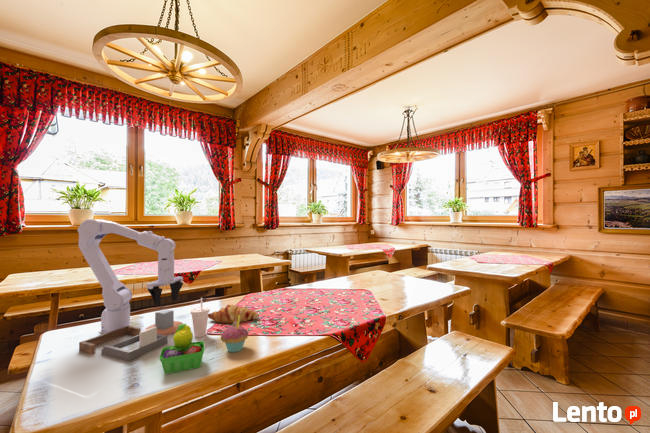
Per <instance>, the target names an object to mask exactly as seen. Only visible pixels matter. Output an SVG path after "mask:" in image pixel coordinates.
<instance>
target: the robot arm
mask: <svg viewBox="0 0 650 433" xmlns="http://www.w3.org/2000/svg"><path fill="white" fill-rule="evenodd" d="M76 231H77V232H78V248H79V250H80V252H81V254H82V255H83V257H84V259H85V260H86V262H87V264H88V266H89V267H90V269H91V270H92V273H93V274H94V276H95V277H96V280H97V281H98V283H99V284H100V286H101V288H102V293H101V295H102V296H101V297H102V298H103V306H104V307H105V309H104V310H103V311H102V313H101V315H100V330H99V331H98V333H100V334H105V333H108V332H111V331H114V330H117V329H120V328H123V327H126V326H131V323H130V322H131V304H130V301H131V300H132V298H133V292H132V290H131V289H129V288H128V287H127V286H126V285H125V284H124V283H123V282H121V281H119V279H118V277H117V275H116V274H115V271H114V270H113V268H112V266H111V265H110V263H109V261H108V260H107V258H106V256H105V255H104V253H103V251H102V250H101V247H100V246H99V245H100V243H101V241H102V240H103V239H104V238H105V237H106V235H108V234H115V235H120V236H122V237H125V238H128V239H131V240H135V241H136V243H137V244H138V245H139V246H142V247H146V248H148V249H151V250H154V251H156V252H157V253H158V256H157V257H158V258H157V280H154V281H152V282H148V283H146V288H147V291H148V292H149V294H150V296H151V298H152V301H153V304H154V306H155V307H160V306H161V300H162V299H161V296H162V292H163V288H161V287H162V286H163V287H164V286H167V285H169V287H170V294H171V296H170V297H171V301H172V302H173V301H175V302H176V301H177V300H178V298H179V294H180V291H181V288H182V287H183V285H184V277H183V276H175V251H174V250H175V249H176V242H175V241H174V240H173V239H171V238H170V237H169V238H166V237H165V236H163V235H162V236H160V235H157V234H155V233H153V231H152V230H148V231H146V230H144V231H142V232H140V231H137V230H135V229H132V228H130V227H128V226H125V225H122V224H120V223H119V222H114V221H111V220H107V219H102V218H100V219H99V218H98V219H93V218H88V219H85V220H84V221H82V222H81V223H80V225H79V226H78V227H77V229H76Z"/></svg>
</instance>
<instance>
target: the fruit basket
mask: <svg viewBox="0 0 650 433" xmlns="http://www.w3.org/2000/svg"><path fill="white" fill-rule="evenodd" d="M193 334H194V333H193V332H192V330H191V326H189V325H187V323H183V324H181V325H179V326H178V328H177V330H176V333H174V335H173V337H172V340H173V344H174V345H171V346H166V347H163V348H161V351H160V354H159V358H158V359H159V361H160V363H161V366H162V370H163V372H164V374H165V375H168V374H171V373H178V372H182V371H188V370H192V369H198V368H201V364H202V362H203V360H202V359H203V356H204V353H205V341H204V340H200V341H194V342H193V338H194V335H193Z"/></svg>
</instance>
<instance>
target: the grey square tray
mask: <svg viewBox="0 0 650 433" xmlns="http://www.w3.org/2000/svg"><path fill="white" fill-rule="evenodd" d="M137 341H138V342H139V343H138V344H139V346H138V347H135V348H133V349H131V350H128V349H124V348H122V347H125V346H127V345H130V344H131V343H134V342H137ZM167 344H168V335H160V334H157V327H152V328H149V329H147V330H145V329H144V330H140V332H139V335H136V336H134V335H133V336H132V337H129V338H127V339H124V340H122V341H119V342H118V341H117V342H116V343H113V344H111V345H109V344H106V345H104V346H103V347H102V348H101V355H105V356H108V357H112V358H116V359H119V360H123V361H128V362H130V361H132V360H133V359H137V358H139V357H142V356H144V355H146V354H148V353H150V352H152V351H154V350H156V349H158V348H160V347H163V346H165V345H167Z"/></svg>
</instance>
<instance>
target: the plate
mask: <svg viewBox="0 0 650 433" xmlns="http://www.w3.org/2000/svg"><path fill="white" fill-rule="evenodd" d="M181 324H184V323H183V322H182V321H178V320H174V326H172V327H170V328H167V329H165V330H161V329H157V334H160V335H165V336H169V335H173V334H175V333H176V330H177V328H178V326H179V325H181ZM152 327H155V323H154V324H152V325H151V324H150V325H149V326H147V327H146V328H145V329H144V330H147V329H149V328H152Z"/></svg>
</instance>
